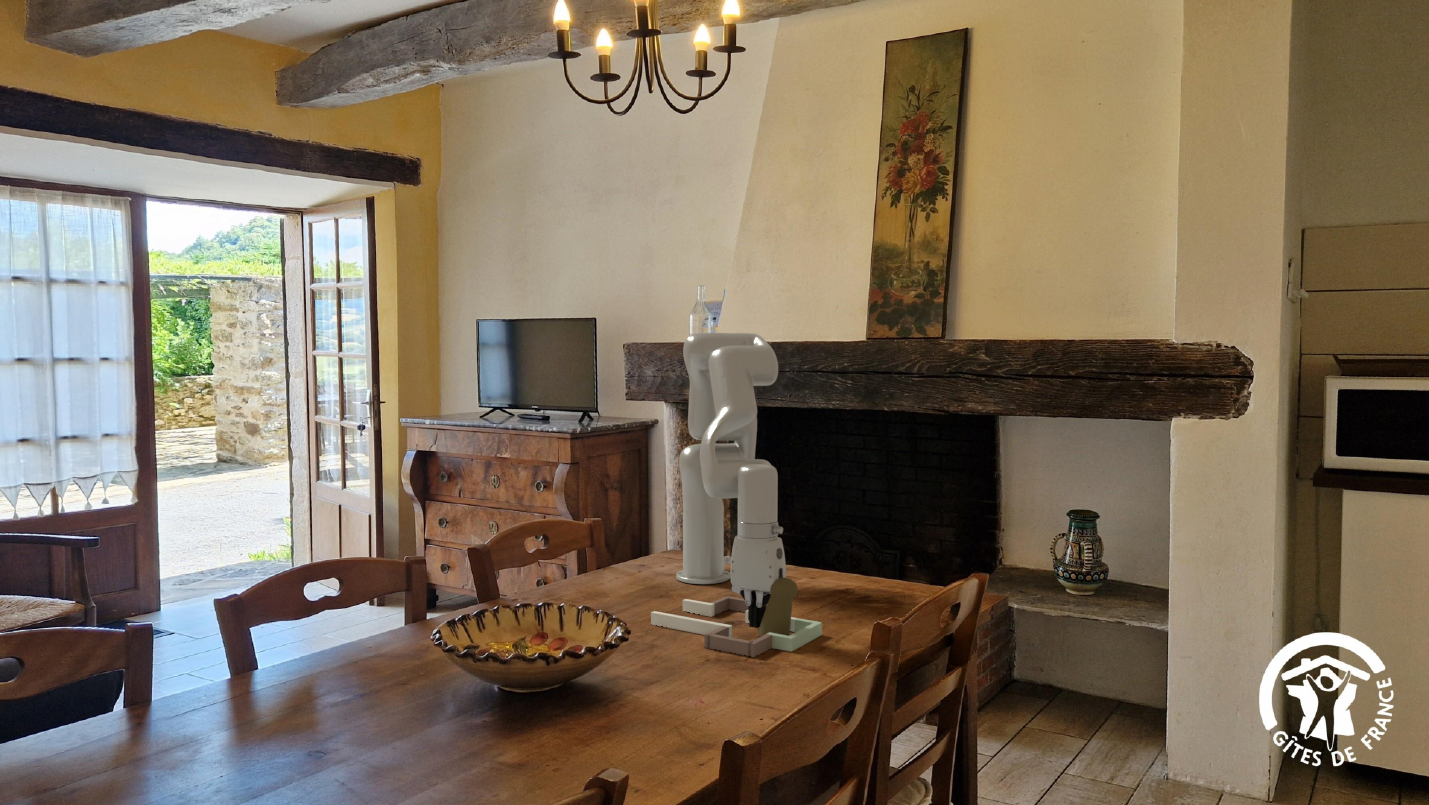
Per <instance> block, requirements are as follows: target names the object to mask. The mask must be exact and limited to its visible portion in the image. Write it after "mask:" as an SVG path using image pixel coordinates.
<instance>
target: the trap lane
mask: <svg viewBox="0 0 1429 805" xmlns="http://www.w3.org/2000/svg"><path fill="white" fill-rule="evenodd" d="M766 607H767V605H766ZM728 609H729V611H735V612H739V611H741V612H740V613H745V617H744V620H745V621H744V623H745V624H748V623H749V620H748V606H747V605H746V603H745V600H744V598H742V597H741V598H740V597H734V596H730V595H729V596H727V595H726V596H723V597H721V598H718V599H716V600H713V601H711V602H707V601H700V600H694V599H690V598H685V599H682V612H683V611H687V612H690V613H689V614H693V613H695V614H694V615H698V614H700V615H699V616H705V617H710V618H712V617H714V616H717V615H718V614H721V613H723V612H722V611H724V612H725V611H728ZM687 612H686V613H687ZM716 614H717V615H716ZM651 624H652V625H651ZM650 625H651V626H656V625H657V627H661V626H663V627H662V628H666V627H667V628H666V629H673V630H677V631H683V632H686V633H687V632H688V633H694V634H698V635H703V636H704V637H703V638H704V639H703V640H704V643H703V645H704V646H703V647H705V649H708V650H709V649H710V650H714V649H717V650H716V651H719V650H721V651H720V652H724V651H725V653H729V652H732V653H731V654H734V653H736V654H735V655H739V654H740V655H739V656H744V655H748V656H751V657H750V658H753V657H754V658H756V657H758V656H759V655H762V654H763V653H765V652H767V651H769V650H771V649H775V650H776V649H777V650H781V651H784V652H785V651H786V652H790V653H791V652H793V651H796V650H797V649H799V648H801V647H803V646H804V645H806V644H808V643H809V642H811V641H813V640H815V639H817V638H819V637H820V636H822V634H823V621H817V620H816V621H815V620H809V619H805V618H798V617H793V616H791V625H790V632H793V633H790V635H789V636H787V635H782V634H776V633H771V632H769V633H767V634H765V635H763V636H761V635H760V636H759V637H757V638H756V639H753V640H748V639H747V640H746V639H742V638H741V639H740V638H735V637H733V625H732V624H727V623H721V622H715V621H712V620H711V621H709V620H704V619H699V618H693V617H689V616H683V615H679V614H672V613H667V612H666V613H665V612H661V611H656V610H653V611H651V612H650ZM768 649H769V650H768ZM761 653H762V654H761ZM757 655H758V656H757ZM748 656H747V657H748ZM755 656H756V657H755Z"/></svg>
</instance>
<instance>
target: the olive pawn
mask: <svg viewBox="0 0 1429 805" xmlns="http://www.w3.org/2000/svg"><path fill="white" fill-rule="evenodd" d="M798 590H799V589H798V585H797V583H796V582H795V581H794V580H793V579H791V578H789V577H786V578H784V577H779V579H778V580H776V581H775V582H774V583H773V584H772V585H771V588H770V593H771V596H770V599H769V602H768V604H767V607H766V610H765V613H764V615H763V618H762V621H761V624H760V627H759V628H757V629H758V630H757V633H758V634H759V636H760V637H761V636H763V635H765V634H767V633H769V632H771V633H776V634H782V635H787V636H789V635H791V631H790V625H791V617H792V613H793V612H792V611H793V610H792V609H793V600H794V598H795V597H797V594H798Z"/></svg>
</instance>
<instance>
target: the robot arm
mask: <svg viewBox="0 0 1429 805" xmlns="http://www.w3.org/2000/svg"><path fill="white" fill-rule="evenodd" d="M682 352H683V360H684V364H685V368H686V371H687V374H688V379H689V391H688V392H689V394H688V395H689V397H688V412H687V413H688V414H687V415H688V416H687V429H688V433H689V435H690V436H691V437H692V438H693V439H695V440H698V441H700V442H701V443H695V444H692V445H689V446H688V445H687V446H686V447H685V448H683V449H682V450H681V451H680V454H679V457H678V458H679V459H678V466H679V472H680V473H679V474H680V479H681V487H682V489H681V490H682V569H681V570H679V571H677V572H676V579H677V580H678V581H680V582H682V583H687V584H694V585H712V584H713V585H714V584H720V583H724V582H727V581H728V580H730V584H731V585H732V586H731V592H733V593H736V594H738V595H740V596H741V598H742V599H744V600H745V603H746V605H747V606H748V620H749V624H748V626H749V627H750V628H755V629H759V627H760V624H761V621H762V618H763V615H764V613H765V610H766V605H767V604H768V602H769V599H770V596H771V593H770V588H771V585H772V584H773V583H774V582H775V581H776V580H778V579H779V577H784V578H787V570H786V569H787V567H786V557H785V556H786V555H785V550H784V549H785V548H784V544H783V540H782V538H781V537H778V536H779V535H782V534H783V532H784V527H782V526H780V525H779V522H778V496H779V495H778V491H779V489H778V486H779V484H778V482H779V481H778V480H779V479H778V477H779V475H778V471H777V470H778V469H777V468H776V467H775V466H774V465H772V464H771V463H770V462H769V461H768V460H766V459H759V458H757V459H756V446H757V435H758V434H757V432H758V417H757V415H758V405H757V401H756V396H755V388H754V387H763V386H764V387H767V386H772V385H773V384H774V383H775V382H776V381H777V379H778V376H779V375H778V374H779V361H778V358H777V355H776V352H775V351H774V349H773V348H772V346H771V345H770V344H769V343H768V342H767V341H766V340H765V339H764V338H763V337H762V336H760V335H759V334H757V333H750V332H749V333H748V332H747V333H746V332H745V333H744V332H740V333H739V332H737V333H736V332H733V333H732V332H699V333H694V334H690V335H689V336H688V337H686V339H685V341H684V342H683V350H682ZM717 441H723V442H724V441H734V443H733V442H732V443H717ZM723 499H737V535H735V537H734V540H733V543H732V544H733V545H732V550H731V551H732V552H731V555H726V556H724V555H725V554H724V547H725V546H724V543H725V541H724V540H725V539H724V531H725V530H724V529H725V528H724V520H725V518H724V513H725V511H724V510H725V508H724V502H723ZM727 565H730V572H729V571H728V570H726V569H725V567H726V566H727Z"/></svg>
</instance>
